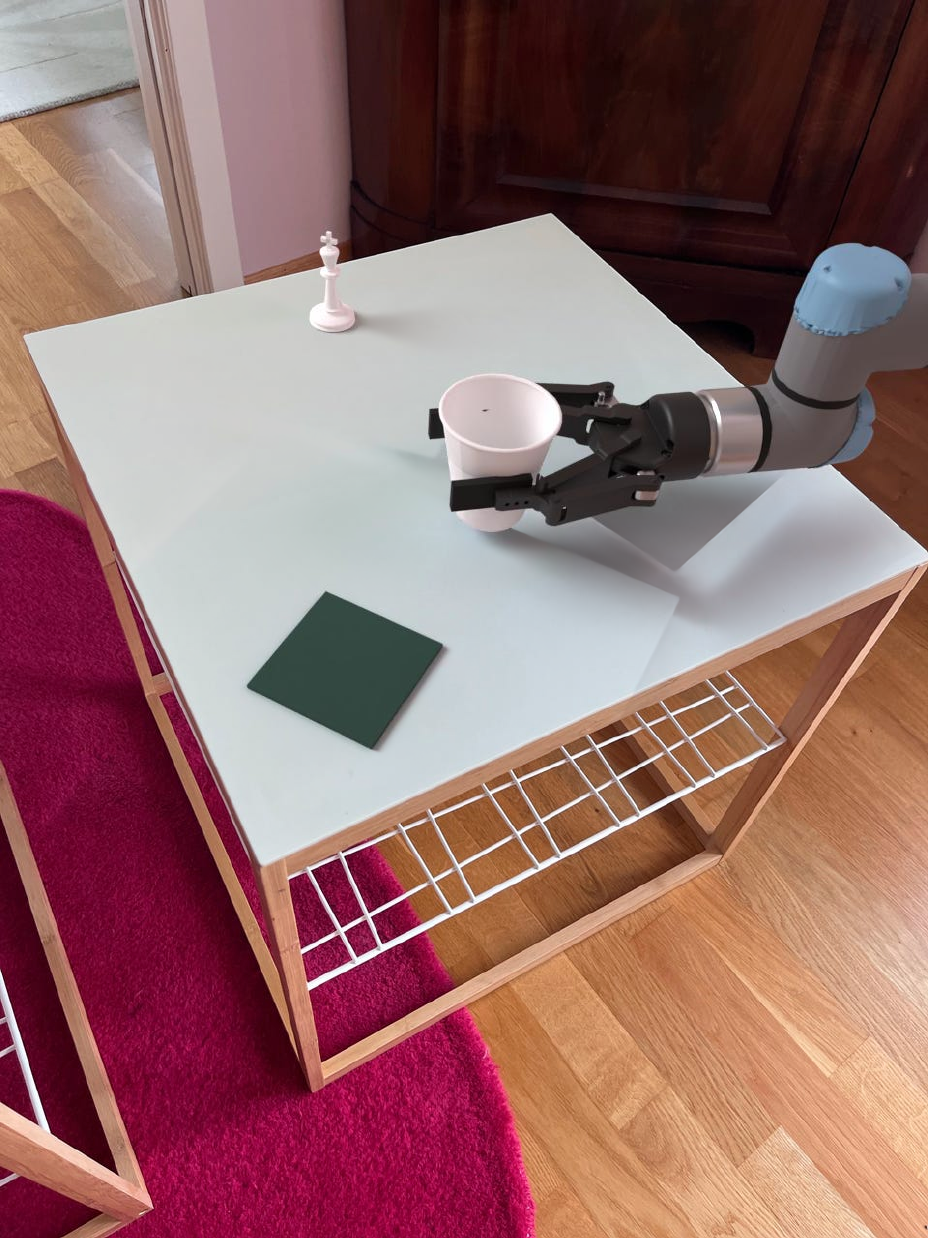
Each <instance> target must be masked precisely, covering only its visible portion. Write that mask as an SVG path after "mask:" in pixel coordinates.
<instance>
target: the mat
mask: <svg viewBox="0 0 928 1238" xmlns="http://www.w3.org/2000/svg"><path fill="white" fill-rule="evenodd" d="M443 647H444V645H443V643H442V642H439V641H437V640H435V639H433V638H431V637H429V636H427V635H424V634H422V633H420V632H417V631H415V630H413V629H411V628H408V627H406V626H404V625H402V624H400V623H398V622H395V621H393V620H391V619H389V618H387V617H384V616H382V615H380V614H377V613H375V612H373V611H372V610H368V609H367V608H365V607H362V606H360V605H358V604H355V603H353V602H351V601H350V600H347V599H345V598H342V597H340V596H338V595H336V594H334V593H331V592H329V591H327V590H325V591H324V592H323V593H322V594H321V596H320V597H319V598H318V599H317V600H316V602H315V603H314V604H313V605H312V606H311V608H309V610H307V612H306V614H305V615H304V616H303V617H302V619H301V620H300V621H299V622H298V623H297V624H296V626H294V628H293V629H292V631H290V633H289V634H288V635H287V636H286V637H285V639H284V640H283V641H282V642H281V643H280V645H279V646H278V647H277V648H276V649H275V650H274V652H272V654H271V655H270V656H269V658H268V659H267V660H266V661H265V662H264V664H263V665H262V666H261V667H260V668H259V670H258V671H257V672H256V673H255V674H254V676H253V677H252V678H251V679H250V680H249V681H248V683H247V684H246V688H247V689H249V690H251V691H253V692H255V693H256V694H258V695H261V696H263V697H265V698H266V699H269V700H271V701H273V702H275V703H277V704H279V705H281V706H283V707H285V708H287V709H289V710H291V711H293V712H295V713H297V714H299V715H301V716H303V717H305V718H307V719H308V720H311V721H314V722H315V723H317V724H320V725H322V726H324V727H325V728H327V729H329V730H332V731H334V732H335V733H338V734H340V735H341V736H344V737H345V738H347V739H350V740H351V741H354V742H355V743H358V744H360V745H362V746H364V747H366V748H368V749H370V750H373V749H374V747H375V746H376V744H377V743H378V742H379V740H380V739H381V737H382V736H383V734H384V733H385V731H386V730H387V728H388V727H389V725H390V724H391V723H392V721H393V720H394V718H395V717H396V715H397V714H398V712H399V711H400V709H401V708H402V707H403V705H404V704H405V702H406V701H407V699H408V698H409V697H410V695H411V694H412V693H413V691H414V690H415V688H416V687H417V685H418V683H419V682H420V681H421V679H422V678H423V676H424V675H425V674H426V671H427V670H428V669H429V668H430V666H431V665H432V663H433V662H434V660H435V659H436V657H437V656H438V655H439V653H440V651H441V650H442V649H443Z"/></svg>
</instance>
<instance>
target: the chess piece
mask: <svg viewBox="0 0 928 1238" xmlns="http://www.w3.org/2000/svg"><path fill="white" fill-rule="evenodd" d="M332 235H333V233H332V231H329V230H327V231H326V232H325V235H321V236H320V238H319V239H320V240H319V241H320V243H325V245H324V246H322V247H321V248H319V255H320V257H321V259H322V262H323V265H324V266H323V267H321V268H320V271H319V274H320V276H321V277H323V278H325V289H324V298H323V302H320V303H318V304H316V305H314V306H313V307H312V308H311V310H310V311H309V322H310V324H311V325H312V327H314V328H315V329H317V330H319V331H322V332H325V333H341V332H343V331H346V330H349V329H350V328H352V327H353V326H354V325H355V323H356V316H355V312H354V310H353V308H352V307H351V306H350V305H348V304H346V303H344V302H341V301H340V299H339V292H338V286H337V281H336V279H337V278H339V277H340V276H341V274H342V272H341V269H340V268H339V267H337V263H338V259H339V256H340V249H339V248H338V247H337V245H338V243H339V241H338V240H339V239H338V238H334V237H333V236H332Z"/></svg>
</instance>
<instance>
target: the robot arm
mask: <svg viewBox="0 0 928 1238" xmlns="http://www.w3.org/2000/svg"><path fill="white" fill-rule="evenodd" d="M787 326H788V327H787V329H786V332H785V335H784V338H783V341H782V344H781V347H780V350H779V353H778V356H777V358H776V360H775V361H774V364H773V367H772V369H771V372H770V375H769V378H768V380H767V382H765V383H764V384H763V383H762V384H756V385H749V386H748V385H747V386H736V387H723V388H721V387H719V388H708V389H700V390H697V391H695V392H692V391H679V392H667V393H666V392H665V393H657V394H656V393H655V394H653V395H652V396H651V397H649V398H648V399H647V400H645V401H644V402H642V403H641V404H630V403H626V402H619V400H618V399H617V397H616V396H615V395H614V391H615V386H616V385H615V384H614V383H613V382H611V381H602V382H596V383H591V384H579V383H578V384H577V383H576V384H573V383H554V382H553V383H549V382H535V383H536V384H538V385H540V386H541V387H543V388H544V389H545V390H547V391H548V392H549V393H550V394H551V395H552V396H553V397H554V398H555V399H556V401H557V403H558V404H559V406H560V409H561V412H562V424H561V427H560V430H559V431H558V433H557V434H556V436H555V437H562V438H568V439H572V440H574V441H575V443H576V444H577V445H579V446H584V447H589V449H590V450H591V451H592V454H589V455H588V456H585V457H583V458H581V459H579V460H577V461H574V462H572V463H570V464H569V465H567V466H564V467H563V468H560V469H558V470H556V471H554V472H552V473H550V474H548V475H545V476H544V475H542V474H541V473H540V472H539V474H537V476H536V482H535V485H532V483H533V478H532V475H531V473H524V474H519V475H513V476H493V477H483V478H473V479H463V480H453V481H451V480H450V493H449V509H450V512H451V513H456V511H466V510H475V509H485V508H495V510H497V511H509V510H510V511H511V510H520V509H525V510H529V509H533V511H535V512H540V513H541V514H542V515H543V516H544V517H545V519H544V522H545V524H546V525H547V526H549V527H558V526H561V525H567V524H569V523H573V522H576V521H577V522H578V521H580V520H585V519H588V518H591V517H596V516H599V515H604V514H606V513H607V514H608V513H610V512H614V511H618V510H623V509H625V508H630V507H634V508H635V507H639V508H641V507H642V508H643V507H645V508H647V507H649V508H650V507H654V506H655V505H656V503H657V501H658V497H659V493H660V490H661V487H662V483H668V482H678V481H689V480H694V479H697V478H698V477H701V478H713V477H723V476H724V477H725V476H733V475H743V474H751V473H752V474H753V473H762V472H764V473H765V472H774V471H785V470H787V471H788V470H799V469H808V470H809V469H819V468H822V467H825V466H830V465H834V464H841V463H846V462H850V461H852V460H854V459H856V458H858V457H859V456H861V454H863V452H864V451H865V450H866V449H867V448H868V446H869V444H870V442H871V440H872V438H873V435H874V430H873V427H872V424H873V422H874V421H875V420H876V408H875V404H874V403H875V402H874V400H873V397H872V395H871V393H870V391H869V389H868V388H867V387H866V384H867V382H868V380H869V378H870V376H871V374H872V373H877V372H892V371H905V370H906V371H907V370H918V369H928V273H926V272H925V273H924V272H922V273H912V272H911V270H910V268H909V267H908V265H907V263H906V262H905V261H904V260H903V259H902V258H900V256H897V255H896V254H894V253H892V252H891V251H889V250H887V249H884V248H881V247H879V246H875V245H873V246H865V245H863V244H861V243H858V242H857V243H856V242H847V243H840V244H837V245H833V246H830V247H828V248H827V249H825V250H823V251H822V252H821V253H819V255H818V256H817V257H816V259H815V261H814V262H813V264H812V266H811V268H810V270H809V272H808V273H807V276H806V278H805V280H804V282H803V283H802V286H801V288H800V291H799V293H798V294H797V296H796V298H795V302H794V305H793V312H792V315H791V317H790V319H789V323H788V325H787ZM489 410H490V409H489ZM482 411H484V412H485V411H487V410H482ZM590 420H592V421H591V423H590V425H589V431H587V428H588V423H589V421H590ZM427 428H428V430H427V435H428V438H429V440H439V439H445V435H444V427H443V424H442V421H441V419H440V416H439V407H434V408H433V407H432V408H429V409H428V427H427Z"/></svg>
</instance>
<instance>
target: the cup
mask: <svg viewBox="0 0 928 1238" xmlns="http://www.w3.org/2000/svg"><path fill="white" fill-rule="evenodd" d="M536 383H537V382H534V381H532V380H529V379H527V378H524V377H521V376H517V375H512V374H507V373H506V374H505V373H482V374H475V375H472V376H468V377H465V378H463V379H460V380H458V381H457V382H455V383H454V384H452V385H450V386H449V387H448V388H447V389H446V391H445V392H443V394H442V396H441V398H440V400H439V403H438V408H439V416H440V419H441V421H442V424H443V427H444V435H445V438H444V441H445V447H446V455H447V463H448V470H449V477H450V482H451V481H453V480H463V479H473V478H483V477H493V476H513V475H519V474H524V473H531V475H532V478H533V483H532V485H535V482H536V476H537V474H539V473H540V472H541V470H542V467H543V465H544V462H545V461H546V458H547V456H548V452H549V450H550V447H551V445H552V442H553V441H554V440H553V439H555V437H557V436H556V434H557V433H558V431H559V430H560V427H561V424H562V412H561V409H560V406H559V404H558V403H557V401H556V399H555V398H554V397H553V396H552V395H551V394H550V393H549V392H548V391H547V390H545V389H544V388H543V387H541V386H540V385H538V384H536ZM489 409H490V410H489ZM482 410H487V411H485V412H484V411H482ZM525 511H526V509H520V510H511V511H510V510H509V511H497V510H495V508H485V509H475V510H466V511H456V512H455V513H456V516H457V517H458V518H459V520H460V521H462V522H463V523H464V524H465V525H467V526H468V527H470V528H473V529H475V530H478V531H480V532H481V531H482V532H488V533H491V532H492V533H497V532H501V531H506V530H508V529H511V528H512V527H515V525H517V524H518V523H519V522H520V521H521V519H522V518H523V516H524V513H525Z"/></svg>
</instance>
